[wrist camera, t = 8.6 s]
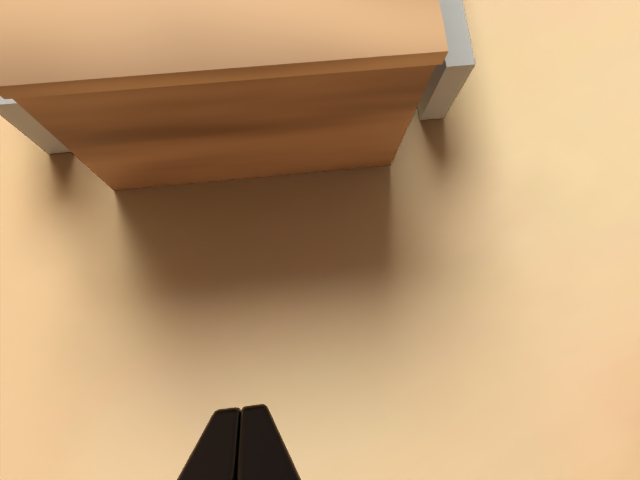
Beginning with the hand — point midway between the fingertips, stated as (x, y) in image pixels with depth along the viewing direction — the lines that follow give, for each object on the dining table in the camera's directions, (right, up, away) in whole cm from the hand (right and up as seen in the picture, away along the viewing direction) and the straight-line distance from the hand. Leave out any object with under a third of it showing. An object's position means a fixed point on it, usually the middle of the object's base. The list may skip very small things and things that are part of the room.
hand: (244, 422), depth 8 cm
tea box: (-2, +10, +13) cm, 17 cm away
